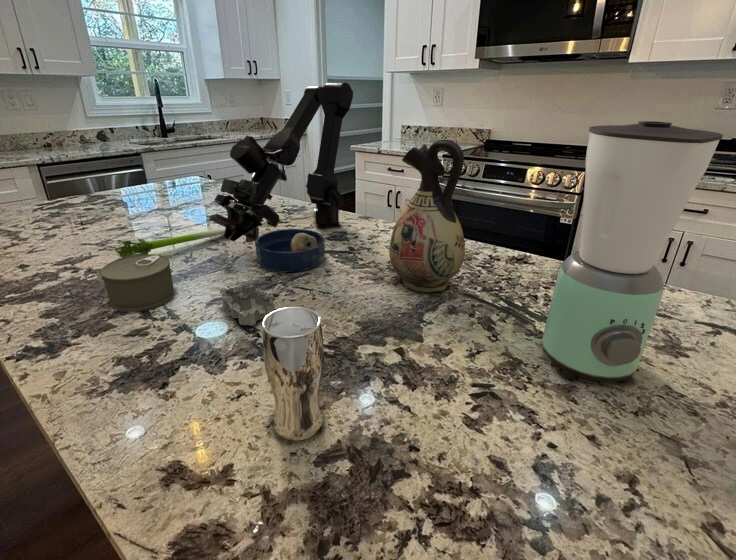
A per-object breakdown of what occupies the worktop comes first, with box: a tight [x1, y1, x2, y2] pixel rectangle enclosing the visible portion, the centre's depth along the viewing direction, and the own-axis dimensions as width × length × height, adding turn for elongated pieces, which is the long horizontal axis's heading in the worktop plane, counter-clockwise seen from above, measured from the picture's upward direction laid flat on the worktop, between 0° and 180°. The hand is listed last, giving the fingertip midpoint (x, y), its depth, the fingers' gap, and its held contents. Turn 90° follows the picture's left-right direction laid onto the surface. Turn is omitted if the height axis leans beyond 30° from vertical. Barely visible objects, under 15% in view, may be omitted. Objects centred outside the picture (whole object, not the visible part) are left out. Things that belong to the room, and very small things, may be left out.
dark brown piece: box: [208, 213, 260, 243], centre depth 99 cm, size 3×3×13 cm
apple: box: [291, 233, 317, 252], centre depth 97 cm, size 6×8×6 cm
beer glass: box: [261, 306, 325, 441], centre depth 50 cm, size 7×7×15 cm
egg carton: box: [219, 283, 277, 327], centre depth 77 cm, size 11×8×4 cm
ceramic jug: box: [388, 139, 466, 293], centre depth 82 cm, size 17×15×30 cm
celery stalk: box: [111, 226, 226, 258], centre depth 106 cm, size 6×7×30 cm
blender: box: [541, 120, 724, 384], centre depth 58 cm, size 19×13×35 cm
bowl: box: [254, 228, 326, 273], centre depth 100 cm, size 16×16×5 cm
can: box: [100, 253, 175, 313], centre depth 81 cm, size 12×12×7 cm
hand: (228, 239), depth 99 cm, fingers closed on dark brown piece, 2 cm apart
